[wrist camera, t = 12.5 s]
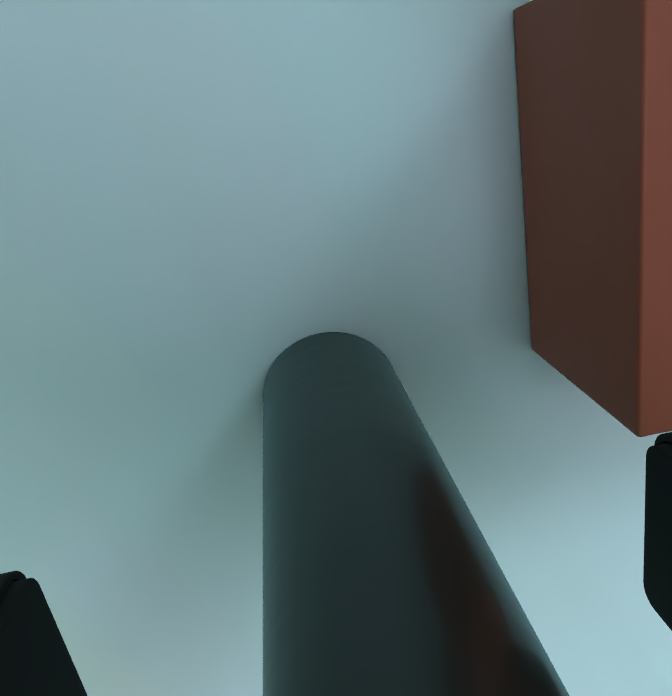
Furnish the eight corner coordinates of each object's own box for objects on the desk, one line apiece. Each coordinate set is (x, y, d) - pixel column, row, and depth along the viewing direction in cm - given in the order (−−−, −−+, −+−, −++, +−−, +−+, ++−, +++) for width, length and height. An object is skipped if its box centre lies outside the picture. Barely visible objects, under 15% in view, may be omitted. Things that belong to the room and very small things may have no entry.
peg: (277, 466, 17) (307, 1158, 6) (249, 346, 15) (215, 926, 4) (404, 441, 17) (685, 1061, 6) (388, 319, 16) (706, 810, 4)
